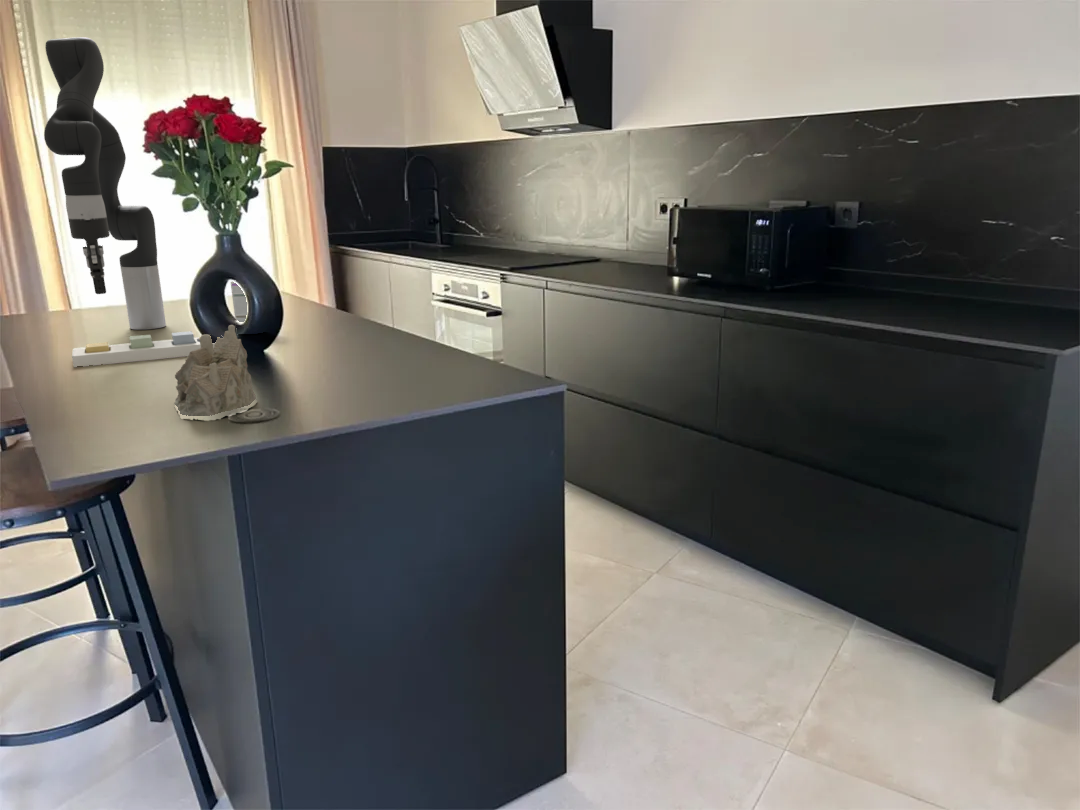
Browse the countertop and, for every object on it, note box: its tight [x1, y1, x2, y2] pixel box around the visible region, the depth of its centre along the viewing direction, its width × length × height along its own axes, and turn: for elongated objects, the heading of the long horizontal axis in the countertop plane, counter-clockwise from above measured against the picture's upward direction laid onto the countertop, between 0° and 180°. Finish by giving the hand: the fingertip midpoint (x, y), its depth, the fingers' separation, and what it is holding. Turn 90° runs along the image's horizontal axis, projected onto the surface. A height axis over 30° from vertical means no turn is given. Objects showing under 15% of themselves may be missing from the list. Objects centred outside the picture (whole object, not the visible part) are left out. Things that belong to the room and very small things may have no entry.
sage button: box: [129, 334, 153, 349], centre depth 180 cm, size 4×4×3 cm
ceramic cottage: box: [173, 324, 257, 416], centre depth 138 cm, size 16×16×15 cm
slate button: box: [171, 330, 195, 345], centre depth 184 cm, size 4×4×3 cm
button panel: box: [71, 336, 215, 368], centre depth 182 cm, size 10×32×3 cm, turn 119°
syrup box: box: [229, 280, 247, 322], centre depth 207 cm, size 6×6×14 cm
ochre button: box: [85, 341, 109, 353], centre depth 176 cm, size 4×4×3 cm
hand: (101, 293), depth 177 cm, fingers closed
